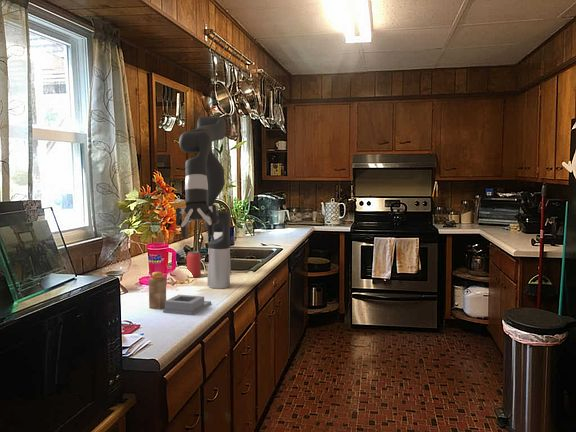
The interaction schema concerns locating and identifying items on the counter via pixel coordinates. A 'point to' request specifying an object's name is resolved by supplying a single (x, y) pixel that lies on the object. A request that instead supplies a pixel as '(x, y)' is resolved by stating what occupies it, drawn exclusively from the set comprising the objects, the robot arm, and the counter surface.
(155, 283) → the brown bottle
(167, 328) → the counter surface
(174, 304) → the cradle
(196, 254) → the beer can
